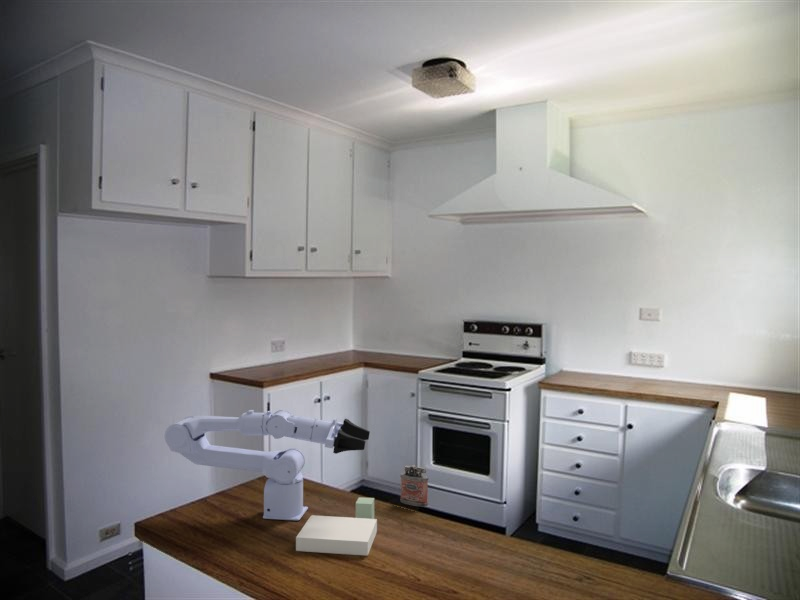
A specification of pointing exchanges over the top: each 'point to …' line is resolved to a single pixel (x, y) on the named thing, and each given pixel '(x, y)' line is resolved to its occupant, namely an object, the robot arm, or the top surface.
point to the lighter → (414, 486)
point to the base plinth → (337, 535)
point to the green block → (365, 508)
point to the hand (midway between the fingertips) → (367, 440)
